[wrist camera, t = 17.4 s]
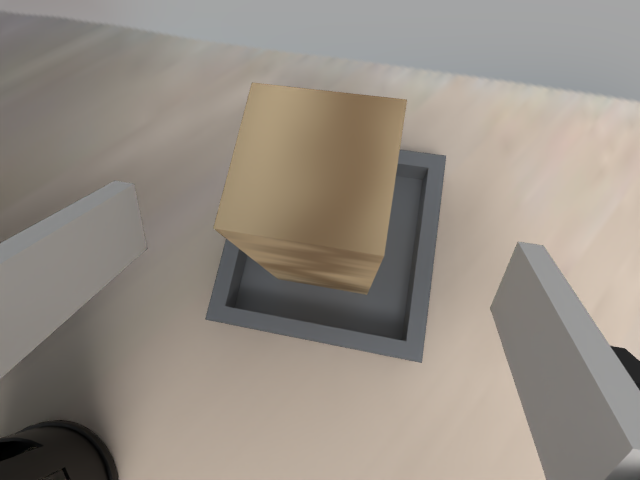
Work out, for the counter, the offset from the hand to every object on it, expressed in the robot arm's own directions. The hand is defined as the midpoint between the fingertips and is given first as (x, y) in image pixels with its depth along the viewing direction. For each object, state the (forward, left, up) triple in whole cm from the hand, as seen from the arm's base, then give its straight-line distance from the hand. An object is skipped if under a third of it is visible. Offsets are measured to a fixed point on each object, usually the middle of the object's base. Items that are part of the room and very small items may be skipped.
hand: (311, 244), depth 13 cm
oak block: (-2, +2, -12) cm, 12 cm away
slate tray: (-2, +2, -12) cm, 13 cm away
